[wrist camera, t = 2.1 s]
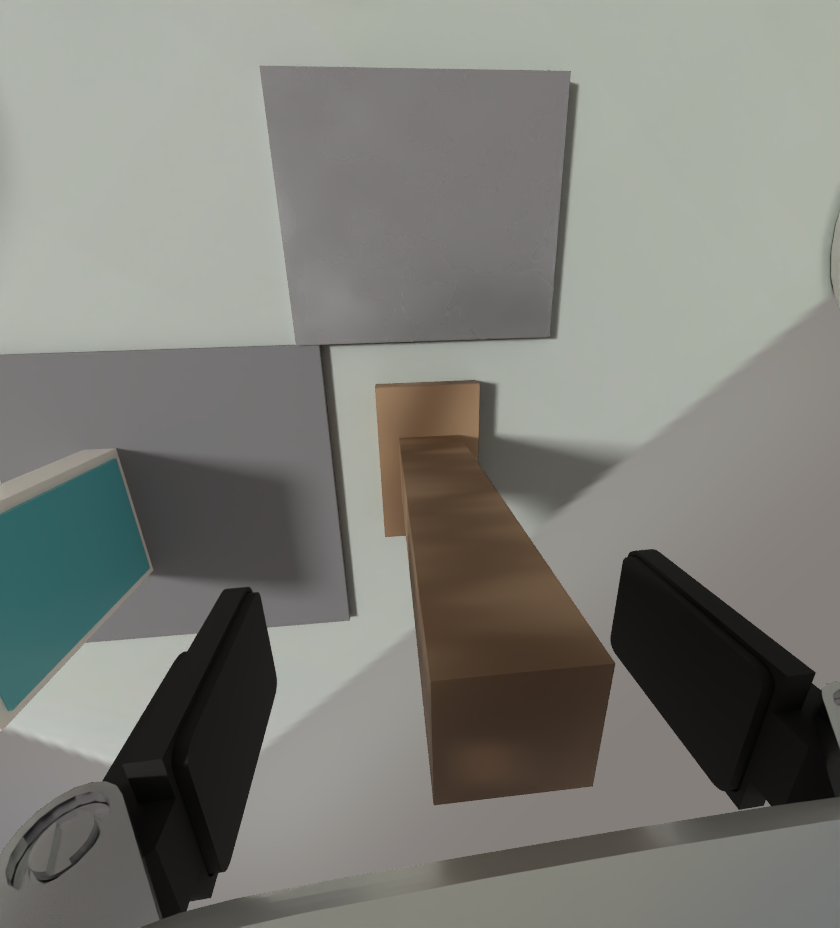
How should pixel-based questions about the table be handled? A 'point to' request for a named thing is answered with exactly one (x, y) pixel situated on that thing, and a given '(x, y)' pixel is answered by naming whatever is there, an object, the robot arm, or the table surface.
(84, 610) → the tile
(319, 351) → the mat
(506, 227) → the plate
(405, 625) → the table surface
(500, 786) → the wooden post stand
